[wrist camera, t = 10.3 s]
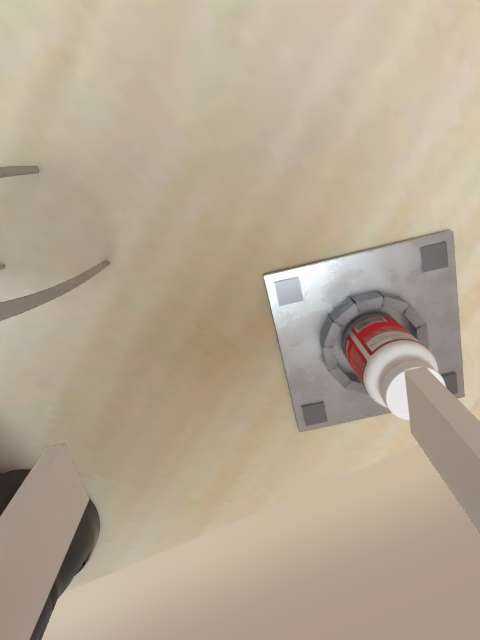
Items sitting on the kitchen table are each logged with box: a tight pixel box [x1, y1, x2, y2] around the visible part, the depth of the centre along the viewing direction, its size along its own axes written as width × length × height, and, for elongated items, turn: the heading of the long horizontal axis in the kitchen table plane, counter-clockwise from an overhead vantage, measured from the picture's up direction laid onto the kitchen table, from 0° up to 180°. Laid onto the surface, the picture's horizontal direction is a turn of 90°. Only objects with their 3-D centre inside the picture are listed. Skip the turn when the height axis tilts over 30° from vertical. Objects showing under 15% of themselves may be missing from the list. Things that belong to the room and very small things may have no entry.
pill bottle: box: [342, 313, 446, 420], centre depth 38 cm, size 6×6×11 cm
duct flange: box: [264, 230, 465, 432], centre depth 42 cm, size 18×18×3 cm
